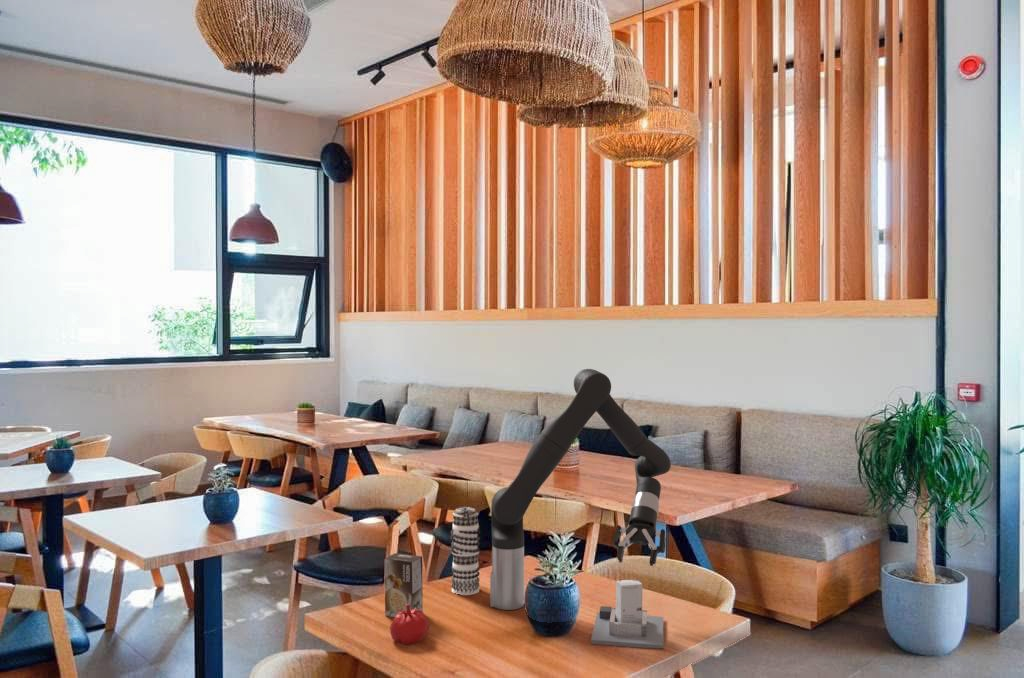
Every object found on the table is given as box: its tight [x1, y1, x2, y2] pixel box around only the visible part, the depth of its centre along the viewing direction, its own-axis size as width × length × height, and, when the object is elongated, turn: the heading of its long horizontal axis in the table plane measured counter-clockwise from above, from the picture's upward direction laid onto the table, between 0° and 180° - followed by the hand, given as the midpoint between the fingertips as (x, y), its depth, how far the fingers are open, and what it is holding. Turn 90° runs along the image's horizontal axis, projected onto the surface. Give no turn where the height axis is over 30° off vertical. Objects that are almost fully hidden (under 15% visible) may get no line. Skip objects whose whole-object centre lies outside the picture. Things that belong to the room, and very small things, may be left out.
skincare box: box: [615, 579, 643, 624], centre depth 214 cm, size 6×4×12 cm
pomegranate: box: [389, 604, 430, 646], centre depth 209 cm, size 10×10×9 cm
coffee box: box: [384, 552, 424, 618], centre depth 227 cm, size 9×6×16 cm
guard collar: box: [609, 607, 648, 637], centre depth 214 cm, size 9×11×3 cm
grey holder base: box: [590, 605, 664, 649], centre depth 214 cm, size 18×20×3 cm
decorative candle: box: [450, 506, 481, 596], centre depth 247 cm, size 9×9×25 cm
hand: (635, 562), depth 222 cm, fingers open, 8 cm apart
